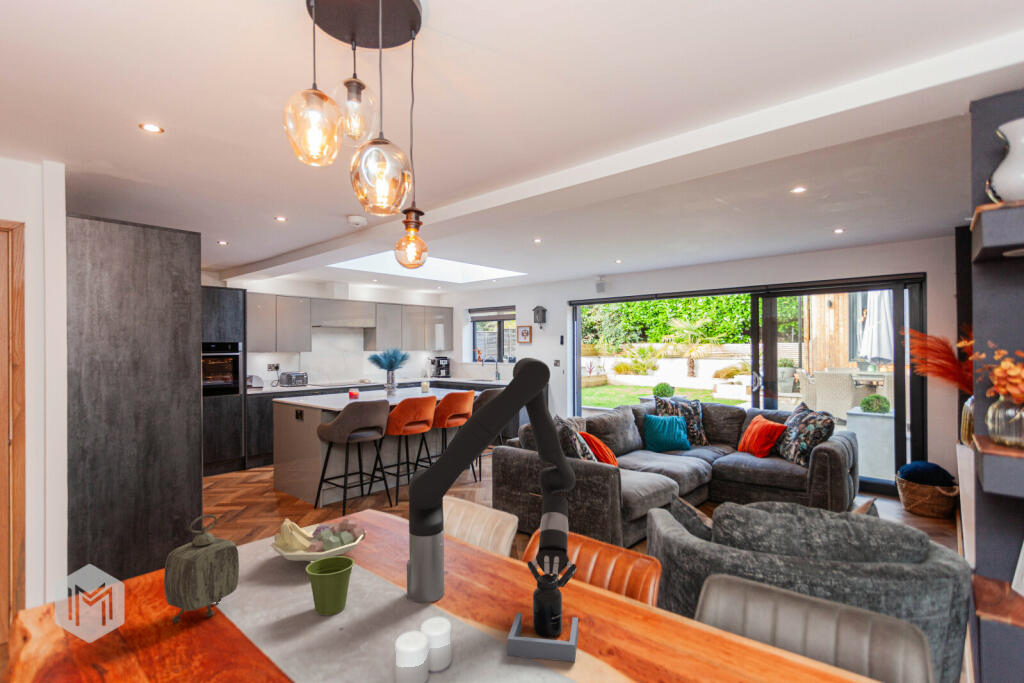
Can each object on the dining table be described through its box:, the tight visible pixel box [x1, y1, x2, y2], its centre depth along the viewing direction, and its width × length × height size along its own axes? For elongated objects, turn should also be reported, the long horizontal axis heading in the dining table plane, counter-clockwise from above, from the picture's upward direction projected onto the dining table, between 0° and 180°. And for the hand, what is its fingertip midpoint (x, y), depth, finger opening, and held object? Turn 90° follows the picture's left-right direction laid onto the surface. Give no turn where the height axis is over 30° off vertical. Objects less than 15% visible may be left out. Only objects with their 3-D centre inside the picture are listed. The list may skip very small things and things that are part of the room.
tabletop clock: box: [163, 513, 240, 624], centre depth 129 cm, size 14×9×25 cm, turn 154°
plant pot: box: [305, 555, 355, 616], centre depth 131 cm, size 12×12×11 cm
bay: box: [506, 612, 579, 663], centre depth 114 cm, size 14×11×4 cm
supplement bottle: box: [532, 574, 563, 639], centre depth 119 cm, size 7×7×12 cm
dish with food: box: [270, 518, 368, 562], centre depth 162 cm, size 28×28×14 cm
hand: (550, 603), depth 123 cm, fingers closed
